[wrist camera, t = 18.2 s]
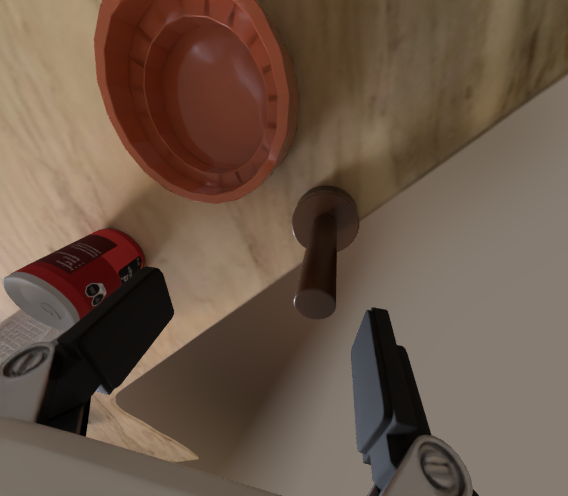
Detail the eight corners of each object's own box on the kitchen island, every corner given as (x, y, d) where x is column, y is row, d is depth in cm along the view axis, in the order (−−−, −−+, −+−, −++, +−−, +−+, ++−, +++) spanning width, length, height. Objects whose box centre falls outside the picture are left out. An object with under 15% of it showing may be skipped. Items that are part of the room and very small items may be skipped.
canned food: (130, 279, 36) (58, 337, 27) (88, 240, 33) (-8, 289, 24) (157, 262, 33) (86, 322, 23) (113, 217, 30) (13, 264, 21)
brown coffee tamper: (293, 237, 26) (260, 330, 15) (298, 182, 22) (260, 249, 12) (350, 246, 25) (358, 351, 14) (364, 189, 21) (390, 270, 11)
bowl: (165, 178, 25) (130, 192, 21) (124, -11, 17) (56, -49, 13) (292, 195, 23) (281, 214, 19) (309, -10, 15) (299, -54, 11)
